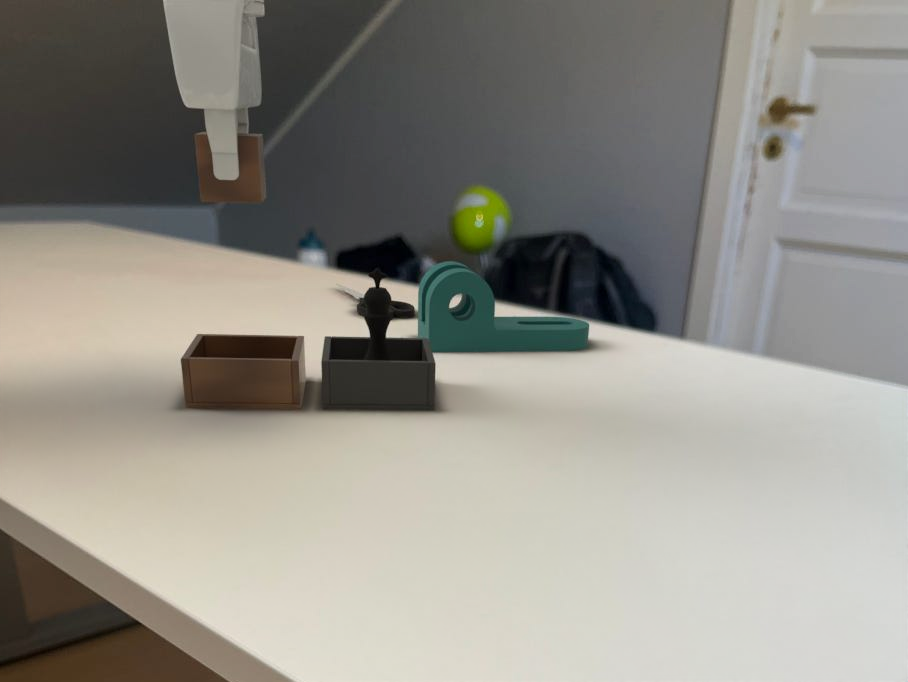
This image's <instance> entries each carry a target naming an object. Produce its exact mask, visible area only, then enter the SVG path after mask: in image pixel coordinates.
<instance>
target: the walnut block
mask: <svg viewBox="0 0 908 682" xmlns="http://www.w3.org/2000/svg"><path fill="white" fill-rule="evenodd" d="M237 138H238V153H239V158H240V176H239V177H238V178H237V179H236V180H219V179H218V178H216V177H215V175H214V170H213V160H212V152H211V147H210V143H209V139H208V135H207V131H201V132H198V133H195V134H194V143H195V152H196V153H195V155H196V162H197V164H196V165H197V174H198V185H199V196H200V202H202V203H203V202H207V203H234V204H235V203H237V204H238V203H239V204H263V203H264V201H265V200H266V199H267V197H268V196H267V181H266V180H267V179H266V165H265V164H266V163H265V150H264V149H265V147H264V135H263V133H248V134H247V133H237Z"/></svg>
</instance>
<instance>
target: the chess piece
mask: <svg viewBox="0 0 908 682" xmlns="http://www.w3.org/2000/svg"><path fill="white" fill-rule="evenodd" d="M367 275H368V277H369V278H371V279H373V281H374V285H375V286H372V287H371V286H370V287H368V289H367V290H366V291H365V293H364V294H363V295H364V303H365V305H366V308H367V311H366V313H364V316H363V318H364V319H363V320H364V321H365V323H366V327H367V328H368V332H369V337H370V344H369V349H368V352H367V354H366V356H365V359H364V360H386V361H392V359H391V357H390V355H389V352H388V349H387V345H386V337H387V332H388V331H387V330H388V328H389V326H390V323H391V320H392V319H393V318H392V315H391V314H390V313H389V306H390V304H391V300H392V295H391V293H390V292H389V291H388V289H387V287H381V282H382V280H383V279H386V278H388V275H387V273H384V272H382V271H381V269H380V267H375V269H374V270H373V271H372V272H371V271H370V272H369V273H368V274H367Z"/></svg>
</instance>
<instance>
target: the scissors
mask: <svg viewBox="0 0 908 682" xmlns="http://www.w3.org/2000/svg"><path fill="white" fill-rule="evenodd" d="M335 285H336V286H337V287H338V288H340V289H341V290H343V291H344V292H346V293H348V294H349V295H351V296H352V297H353V298H354V299H357V300H358V303H357V304H356V313H357V314H358V315H360V316H363V317H364V313H366V311H367V308H366V305H365V303H364V295H365V294H364V293H361V292H359V291H357V290H354V289H352V288H350V287H346V286H344V285H341V284H339V283H335ZM389 313H390V314H391V315H392V318H391V319H393V318H394V317H397V318H411V317H414V316H415V313H416V308H415V306H414V305H413V304H411V303H408V302H405V301H400V300H399V301H398V300H393V299H391V304H390V306H389Z"/></svg>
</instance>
